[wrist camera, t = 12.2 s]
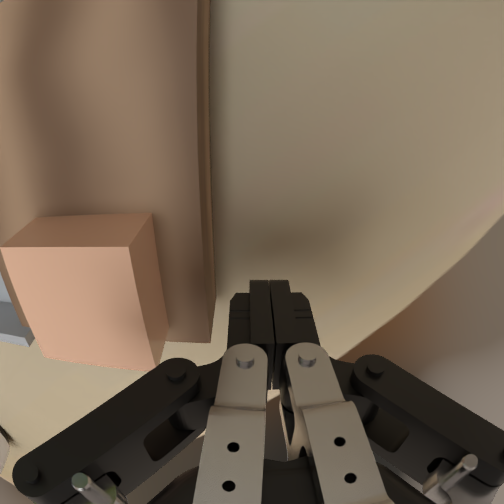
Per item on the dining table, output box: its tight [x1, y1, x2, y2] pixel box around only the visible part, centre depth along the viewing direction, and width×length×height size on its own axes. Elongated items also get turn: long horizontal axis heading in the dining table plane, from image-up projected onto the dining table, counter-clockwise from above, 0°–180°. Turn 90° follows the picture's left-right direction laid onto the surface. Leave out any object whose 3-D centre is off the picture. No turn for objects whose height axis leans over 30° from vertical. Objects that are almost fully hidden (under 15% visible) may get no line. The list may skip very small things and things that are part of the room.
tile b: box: [0, 213, 169, 371], centre depth 13 cm, size 6×6×3 cm
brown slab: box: [0, 0, 216, 343], centre depth 13 cm, size 12×18×4 cm, turn 179°
